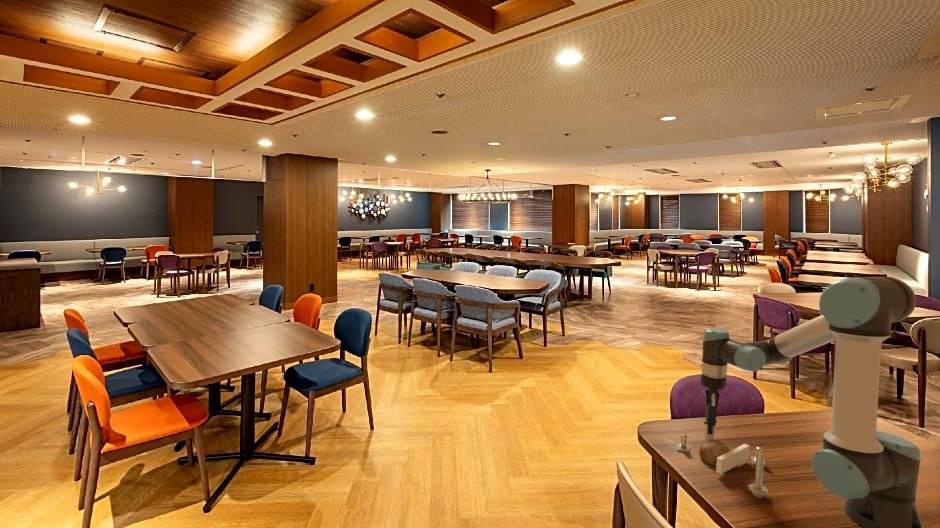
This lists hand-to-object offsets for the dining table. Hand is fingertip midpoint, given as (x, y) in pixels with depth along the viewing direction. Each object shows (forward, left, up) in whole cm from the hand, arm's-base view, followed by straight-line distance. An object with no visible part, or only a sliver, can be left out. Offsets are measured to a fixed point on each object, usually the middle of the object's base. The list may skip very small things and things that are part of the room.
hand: (709, 441), depth 159 cm
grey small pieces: (-2, -3, -3) cm, 5 cm away
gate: (-10, -6, -2) cm, 12 cm away
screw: (-23, -11, -3) cm, 26 cm away
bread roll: (-6, -2, -3) cm, 7 cm away
